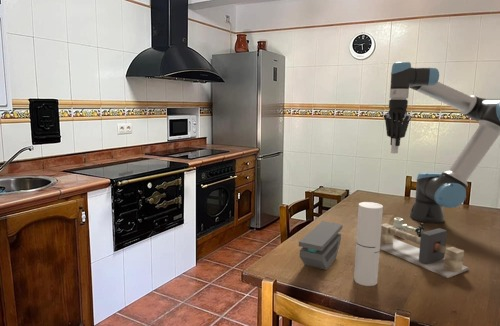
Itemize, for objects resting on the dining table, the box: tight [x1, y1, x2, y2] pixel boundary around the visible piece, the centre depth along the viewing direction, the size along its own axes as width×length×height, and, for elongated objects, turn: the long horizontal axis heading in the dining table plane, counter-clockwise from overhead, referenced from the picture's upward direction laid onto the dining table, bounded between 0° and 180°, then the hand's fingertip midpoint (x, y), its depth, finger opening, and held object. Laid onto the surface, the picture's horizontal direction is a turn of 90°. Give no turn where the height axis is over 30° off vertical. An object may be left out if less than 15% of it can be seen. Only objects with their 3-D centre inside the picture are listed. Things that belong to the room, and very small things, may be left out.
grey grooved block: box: [298, 220, 343, 271], centre depth 131 cm, size 25×8×11 cm, turn 151°
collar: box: [419, 227, 448, 264], centre depth 131 cm, size 3×10×10 cm, turn 120°
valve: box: [392, 217, 425, 238], centre depth 160 cm, size 7×7×12 cm
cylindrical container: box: [353, 201, 384, 287], centre depth 117 cm, size 7×7×25 cm
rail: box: [380, 222, 470, 279], centre depth 137 cm, size 32×12×8 cm, turn 31°
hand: (394, 153), depth 164 cm, fingers closed
